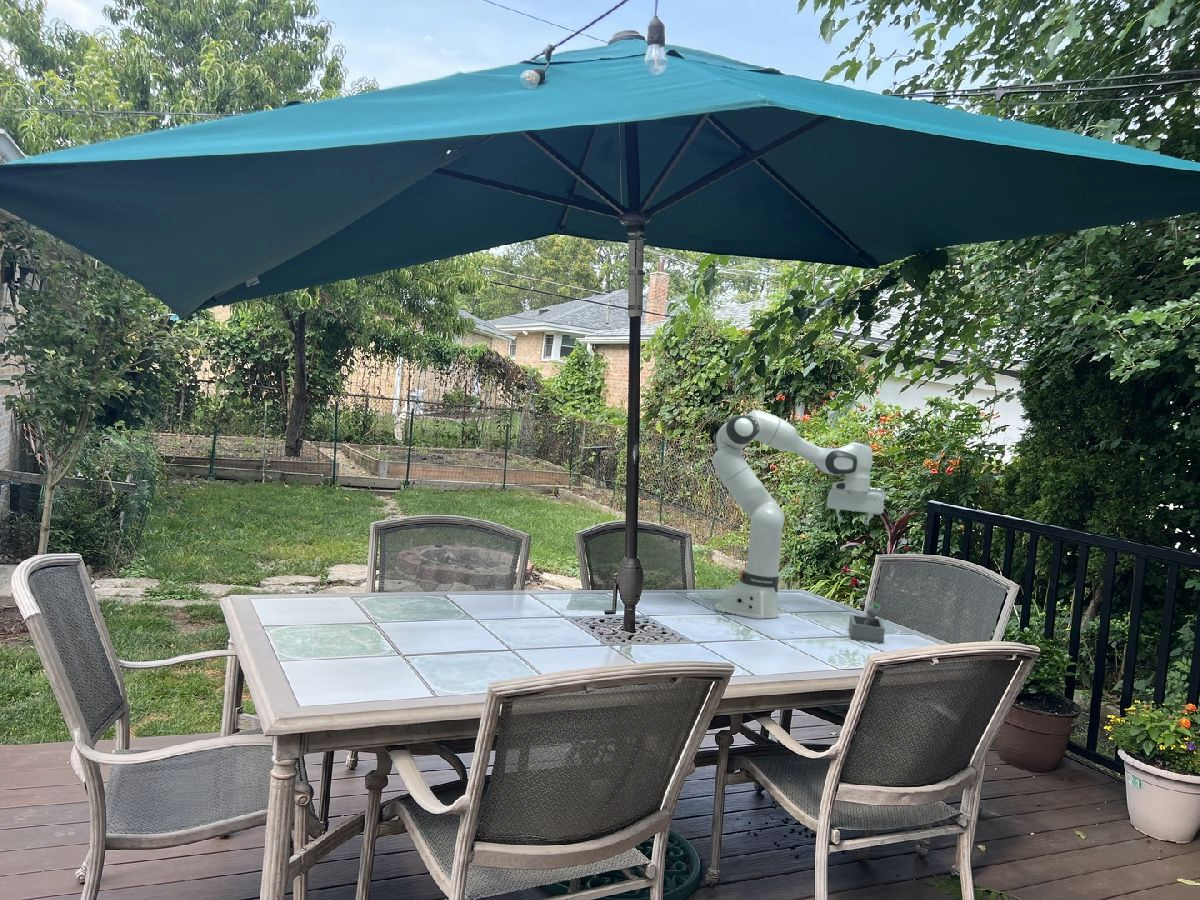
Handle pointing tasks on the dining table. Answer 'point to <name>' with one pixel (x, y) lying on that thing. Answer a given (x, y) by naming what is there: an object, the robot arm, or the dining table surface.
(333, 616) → the dining table surface
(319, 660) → the dining table surface
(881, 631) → the bin
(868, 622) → the mechanical component
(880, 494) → the robot arm
